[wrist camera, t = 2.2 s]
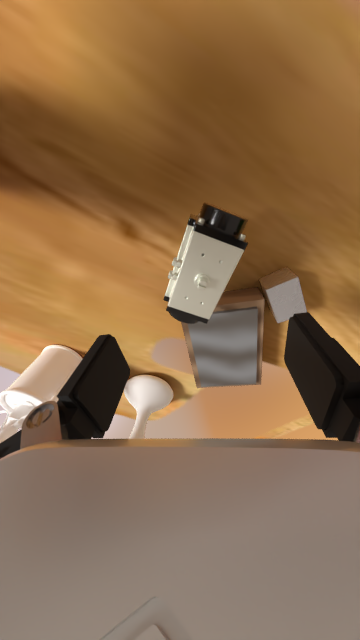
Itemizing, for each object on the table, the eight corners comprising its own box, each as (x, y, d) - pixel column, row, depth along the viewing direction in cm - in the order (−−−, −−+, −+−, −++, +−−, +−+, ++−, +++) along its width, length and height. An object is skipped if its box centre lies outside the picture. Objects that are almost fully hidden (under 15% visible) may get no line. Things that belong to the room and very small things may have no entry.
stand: (180, 297, 32) (178, 312, 28) (257, 287, 29) (265, 301, 26) (197, 372, 41) (196, 390, 37) (255, 368, 39) (261, 387, 35)
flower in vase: (182, 394, 46) (169, 560, 25) (144, 404, 50) (105, 556, 29) (153, 358, 40) (103, 537, 19) (112, 373, 44) (33, 536, 23)
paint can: (61, 376, 46) (-17, 480, 30) (34, 348, 41) (-76, 453, 25) (98, 369, 44) (35, 479, 27) (73, 339, 39) (-20, 448, 22)
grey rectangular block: (258, 278, 29) (265, 290, 26) (286, 266, 27) (298, 276, 24) (269, 309, 32) (277, 323, 28) (295, 299, 30) (307, 313, 27)
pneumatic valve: (236, 212, 24) (261, 227, 14) (201, 291, 31) (202, 340, 21) (194, 195, 24) (191, 199, 14) (168, 280, 30) (152, 324, 20)
